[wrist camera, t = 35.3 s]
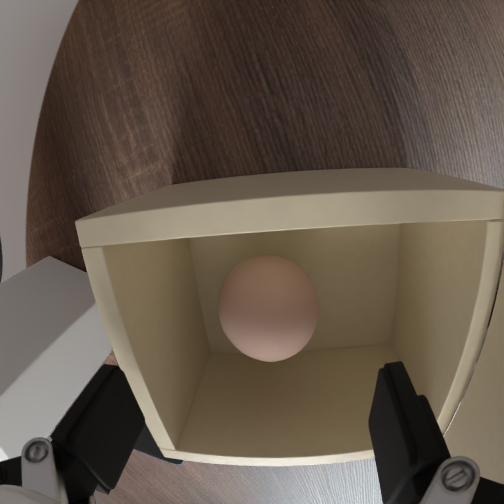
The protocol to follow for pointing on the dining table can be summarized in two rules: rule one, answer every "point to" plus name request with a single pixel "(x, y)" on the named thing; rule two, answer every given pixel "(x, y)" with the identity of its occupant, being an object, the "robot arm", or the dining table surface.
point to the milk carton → (45, 349)
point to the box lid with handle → (484, 404)
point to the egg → (268, 308)
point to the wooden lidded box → (329, 297)
